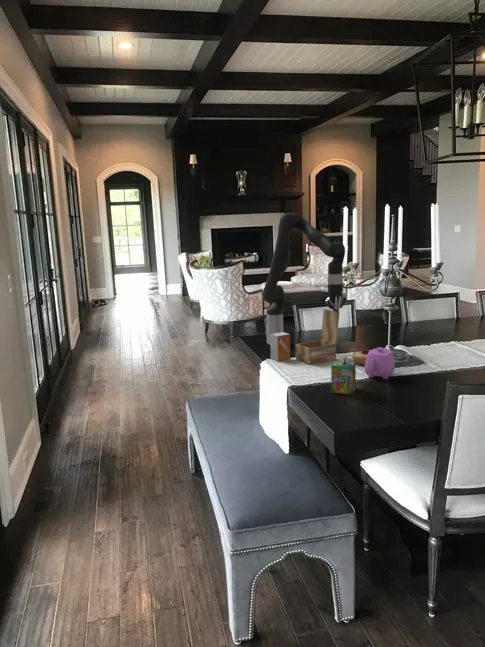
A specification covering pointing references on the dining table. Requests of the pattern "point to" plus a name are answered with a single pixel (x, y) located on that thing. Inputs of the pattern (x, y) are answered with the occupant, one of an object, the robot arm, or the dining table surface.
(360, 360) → the pastry
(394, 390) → the dining table surface
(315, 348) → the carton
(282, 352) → the small box
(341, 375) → the chalk box
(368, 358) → the teapot
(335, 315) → the lid
